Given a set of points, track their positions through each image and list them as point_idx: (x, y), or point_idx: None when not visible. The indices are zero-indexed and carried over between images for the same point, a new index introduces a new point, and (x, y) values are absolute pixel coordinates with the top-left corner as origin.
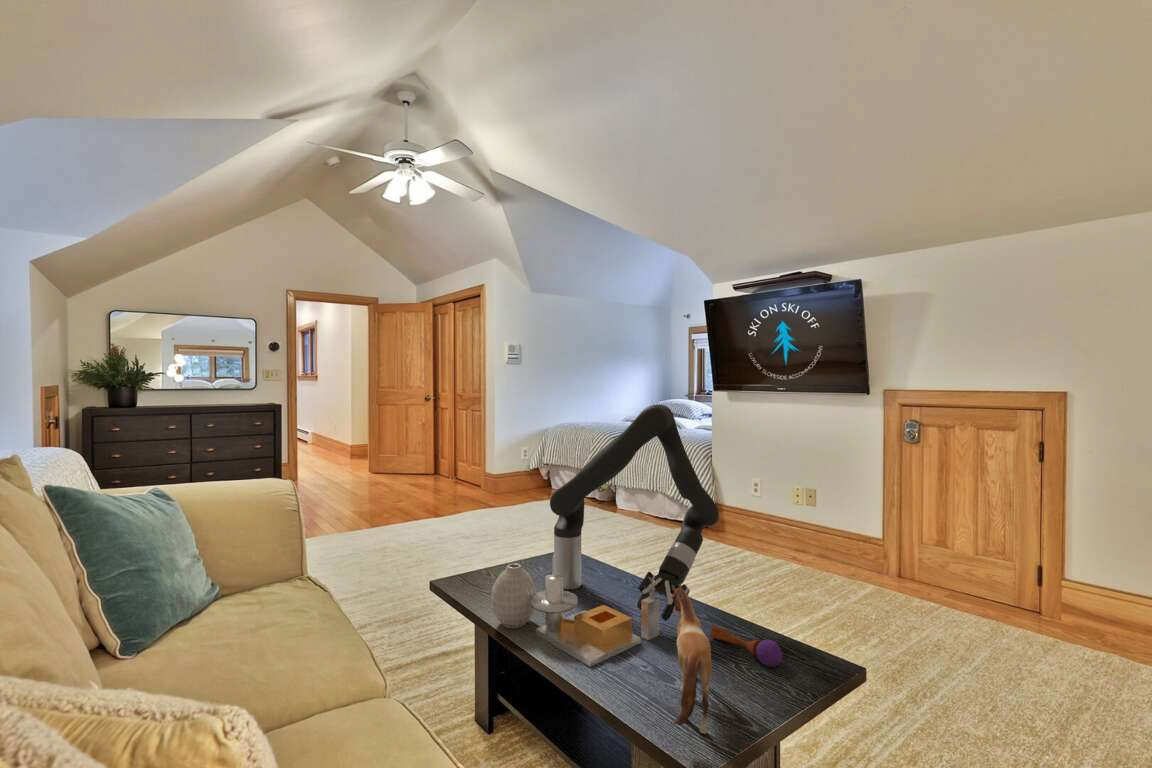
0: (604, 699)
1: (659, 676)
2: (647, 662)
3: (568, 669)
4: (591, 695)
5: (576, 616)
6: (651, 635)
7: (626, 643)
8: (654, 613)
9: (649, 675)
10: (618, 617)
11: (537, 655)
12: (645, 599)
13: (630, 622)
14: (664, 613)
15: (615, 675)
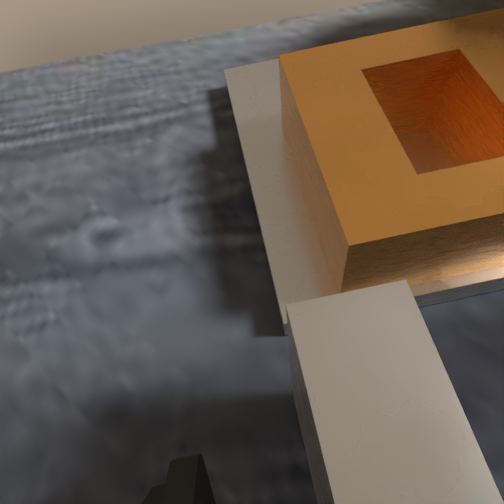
0: (66, 69)
1: (15, 246)
2: (119, 263)
3: (252, 44)
4: (104, 53)
5: (494, 13)
6: (301, 431)
7: (264, 226)
8: (313, 454)
9: (49, 219)
10: (398, 173)
11: (376, 5)
12: (411, 341)
13: (341, 246)
14: (166, 488)
15: (134, 130)
